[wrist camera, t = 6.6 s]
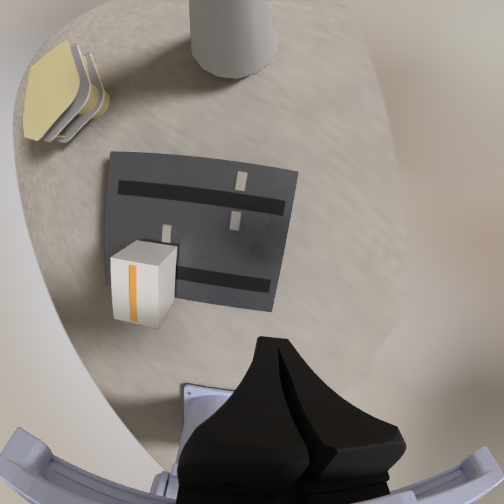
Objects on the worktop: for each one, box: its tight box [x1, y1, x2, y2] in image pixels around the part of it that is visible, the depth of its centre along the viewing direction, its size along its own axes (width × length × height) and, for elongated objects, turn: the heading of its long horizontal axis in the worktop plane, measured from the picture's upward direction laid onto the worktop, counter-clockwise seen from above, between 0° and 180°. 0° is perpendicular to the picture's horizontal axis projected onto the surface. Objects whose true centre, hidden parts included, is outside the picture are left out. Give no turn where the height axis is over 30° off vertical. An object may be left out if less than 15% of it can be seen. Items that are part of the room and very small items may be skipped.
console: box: [105, 151, 298, 312], centre depth 19 cm, size 10×13×2 cm
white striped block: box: [110, 240, 177, 329], centre depth 16 cm, size 4×3×4 cm
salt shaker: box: [189, 0, 279, 79], centre depth 10 cm, size 6×6×13 cm
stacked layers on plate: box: [23, 39, 110, 143], centre depth 14 cm, size 10×9×6 cm
